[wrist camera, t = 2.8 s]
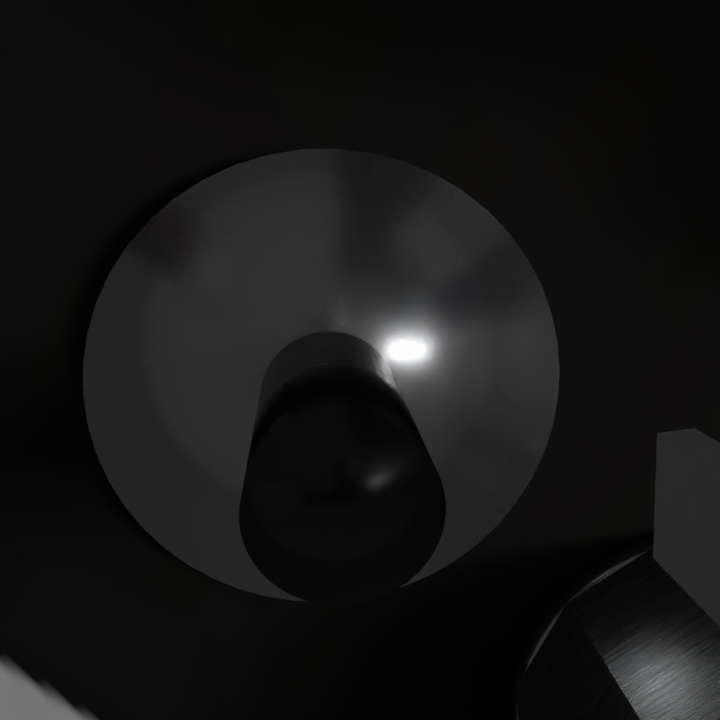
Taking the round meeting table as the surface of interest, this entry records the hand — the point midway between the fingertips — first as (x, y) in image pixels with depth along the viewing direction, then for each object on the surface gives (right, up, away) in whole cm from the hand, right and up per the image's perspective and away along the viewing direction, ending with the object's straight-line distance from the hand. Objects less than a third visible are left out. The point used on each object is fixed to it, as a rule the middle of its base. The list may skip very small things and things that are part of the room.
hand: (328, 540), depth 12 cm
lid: (0, +3, +8) cm, 8 cm away
